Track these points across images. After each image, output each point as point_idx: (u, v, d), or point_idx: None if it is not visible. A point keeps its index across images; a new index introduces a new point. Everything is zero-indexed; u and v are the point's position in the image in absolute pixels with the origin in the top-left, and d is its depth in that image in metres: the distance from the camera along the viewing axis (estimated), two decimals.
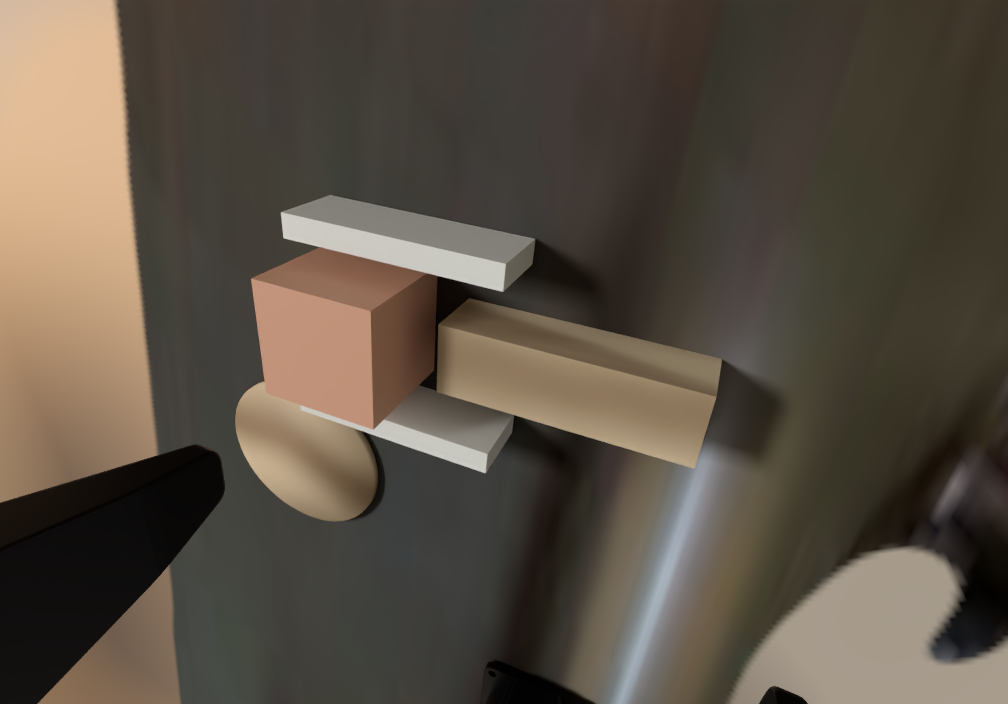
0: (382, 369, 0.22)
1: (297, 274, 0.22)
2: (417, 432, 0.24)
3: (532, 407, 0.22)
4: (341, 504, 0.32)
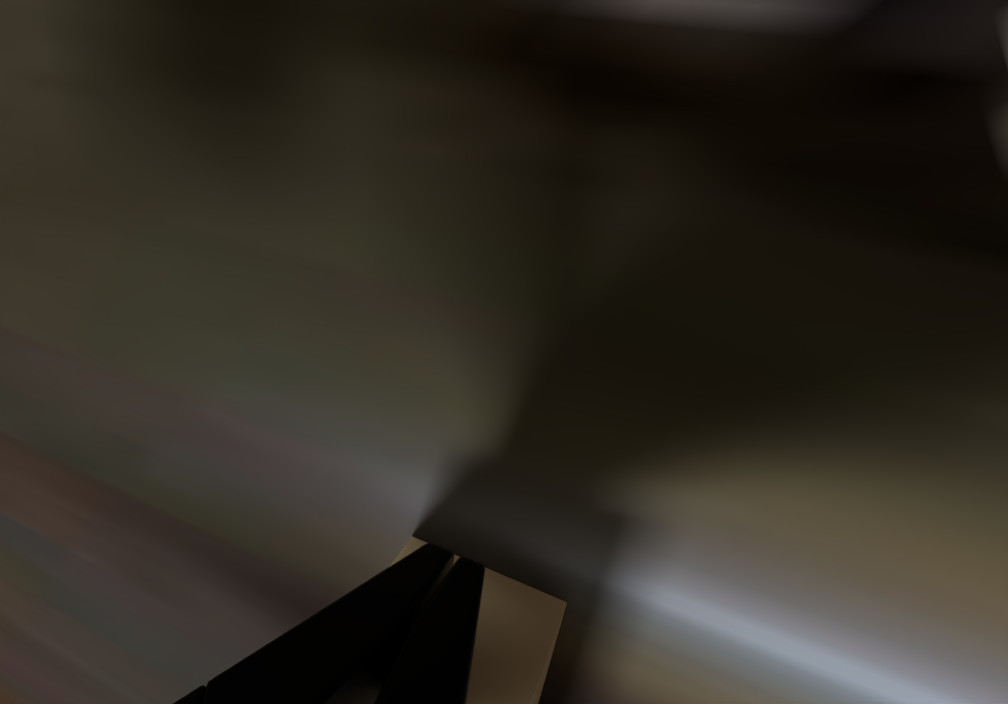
0: None
1: None
2: None
3: None
4: None
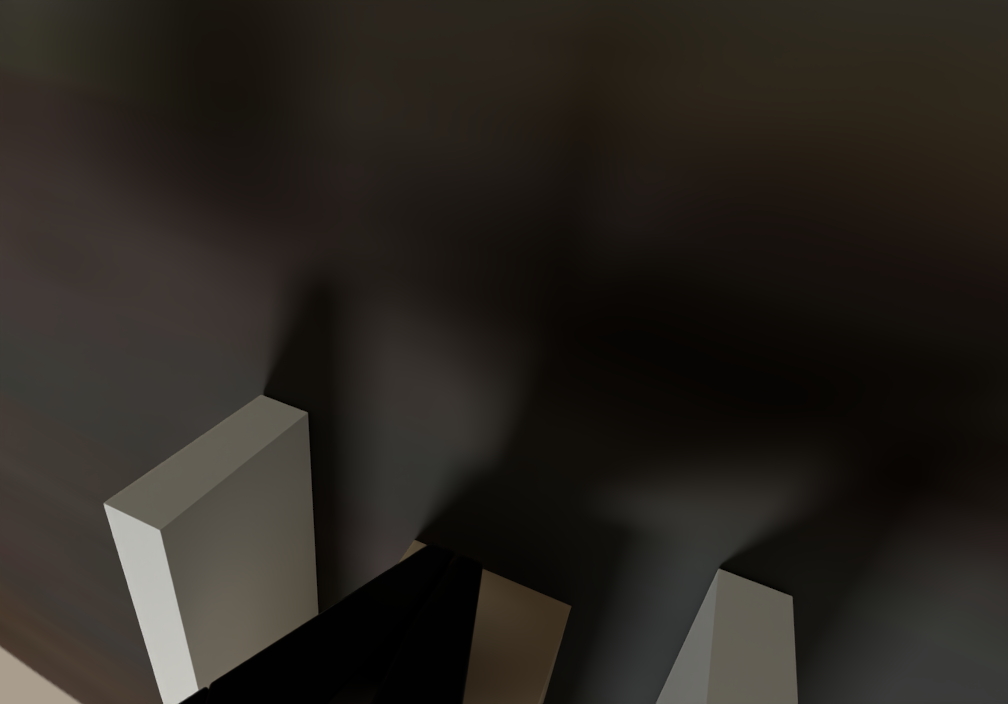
0: None
1: None
2: None
3: None
4: None
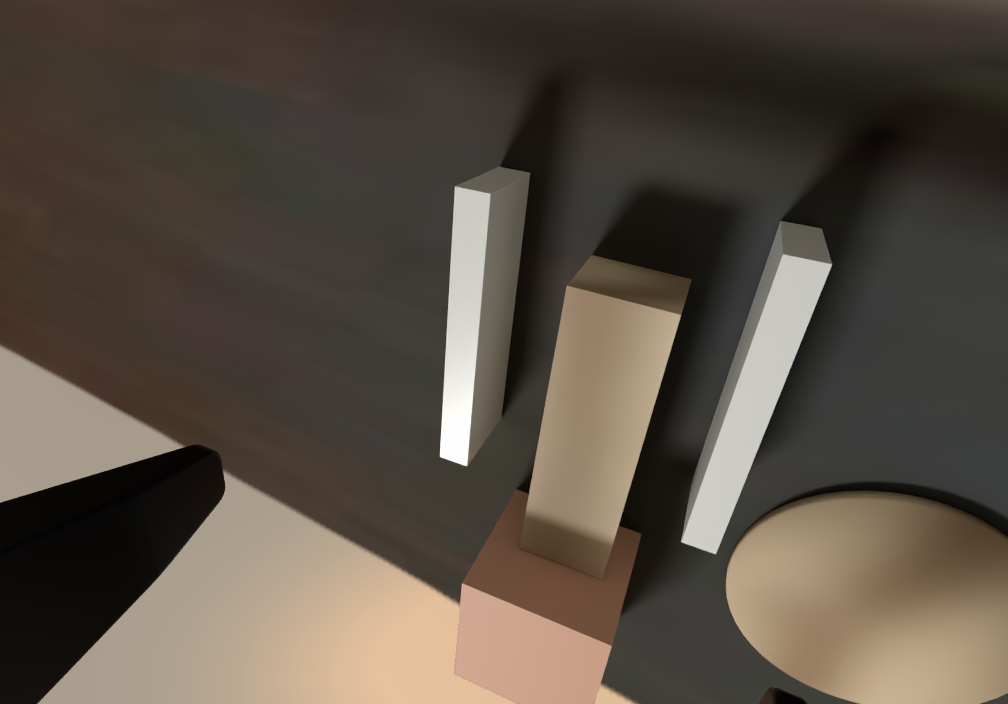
0: (545, 599, 0.19)
1: None
2: (745, 375, 0.14)
3: (609, 485, 0.18)
4: (1006, 594, 0.17)
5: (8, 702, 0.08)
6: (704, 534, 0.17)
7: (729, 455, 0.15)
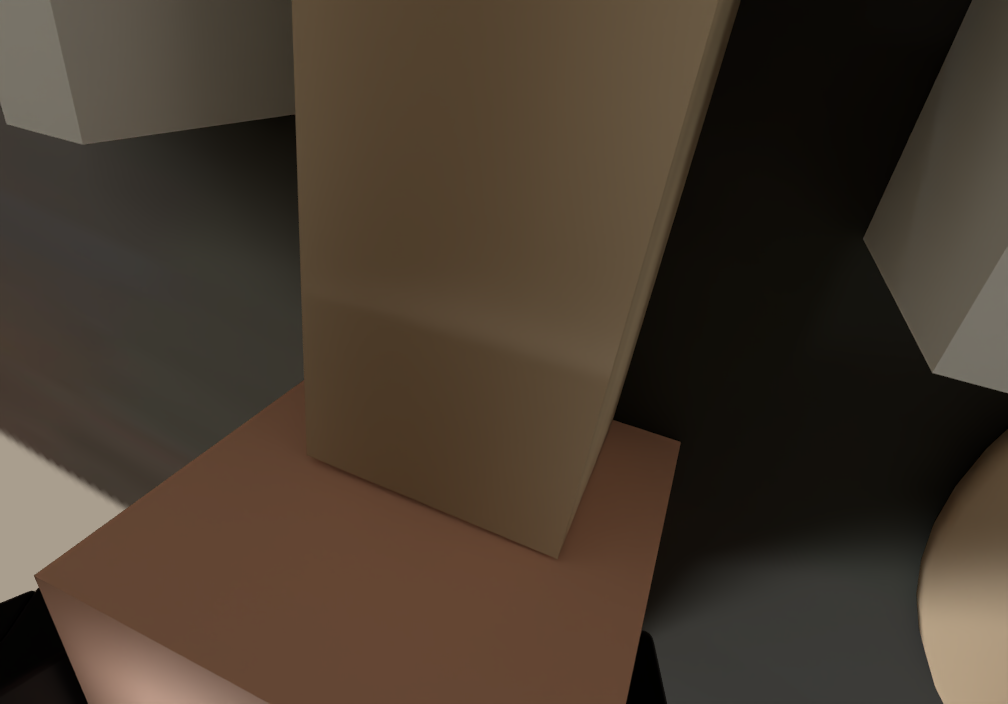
0: (339, 641, 0.05)
1: None
2: None
3: (589, 133, 0.04)
4: None
5: None
6: None
7: None
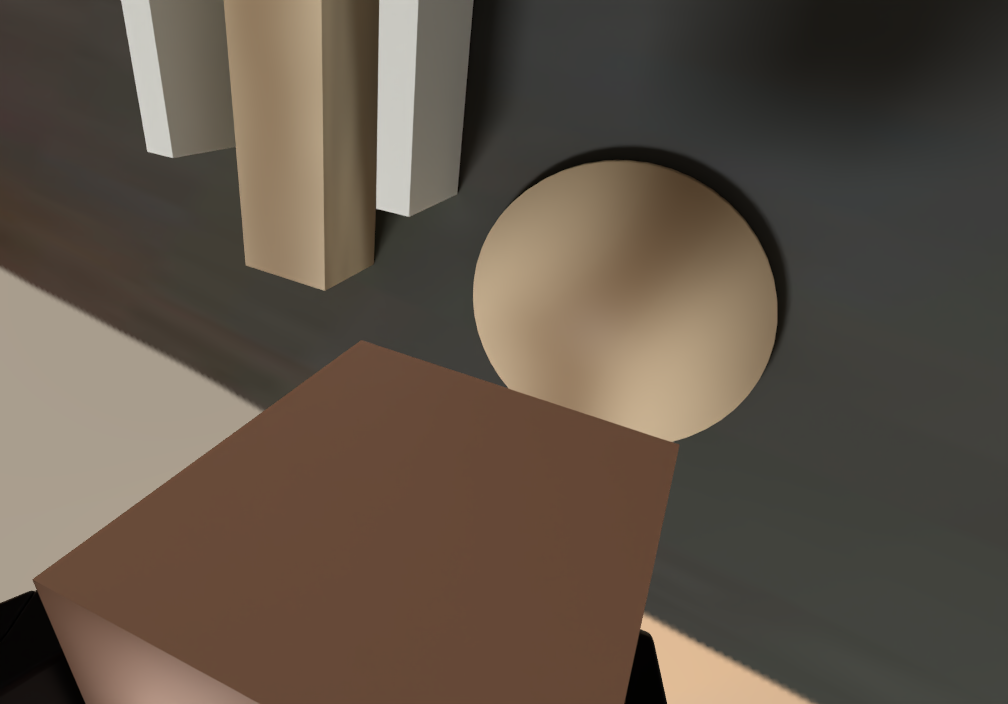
0: (338, 644, 0.05)
1: None
2: None
3: (305, 154, 0.16)
4: (723, 266, 0.16)
5: None
6: (393, 191, 0.15)
7: (393, 68, 0.14)
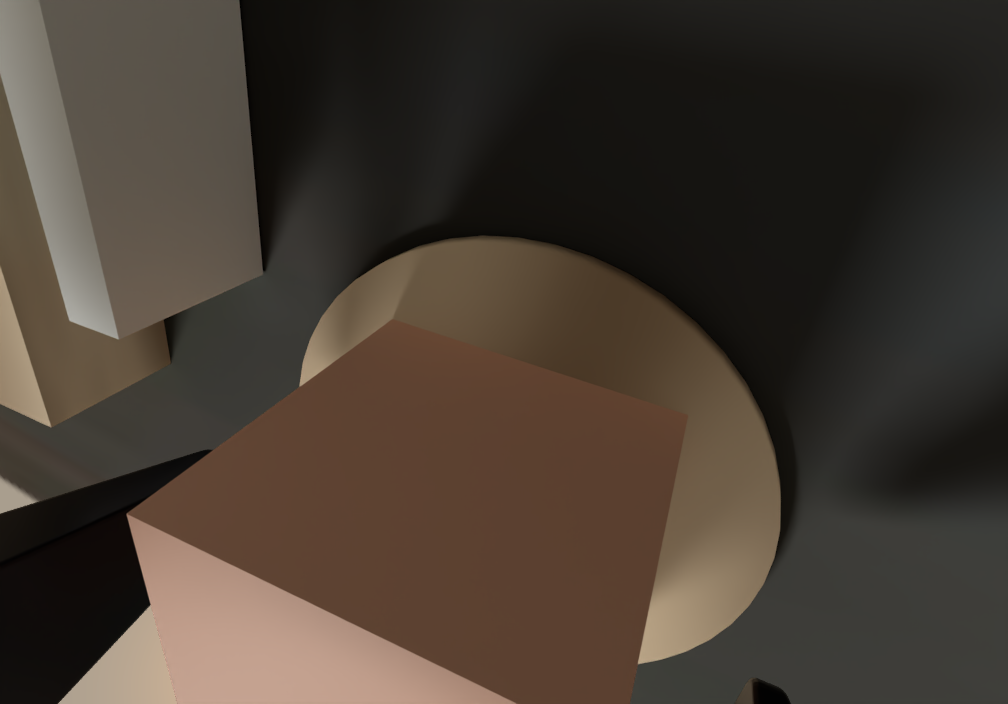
0: (395, 570, 0.06)
1: None
2: None
3: None
4: (685, 429, 0.09)
5: None
6: (85, 295, 0.08)
7: (22, 74, 0.07)
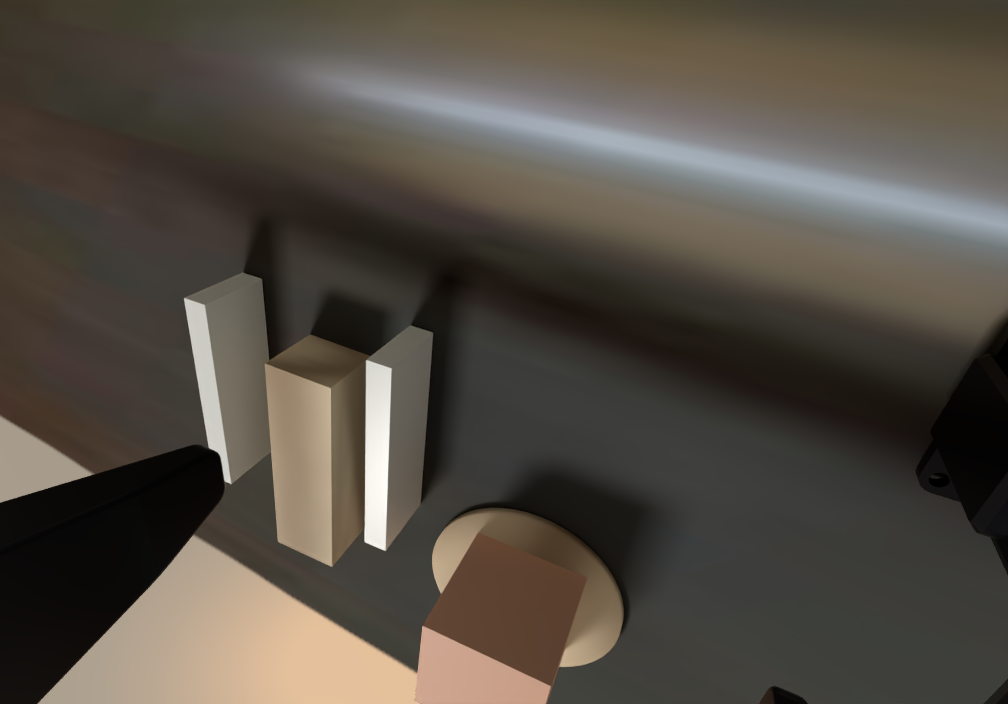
0: (495, 641, 0.21)
1: None
2: (369, 432, 0.22)
3: (319, 499, 0.25)
4: (587, 582, 0.24)
5: (8, 702, 0.08)
6: (375, 537, 0.24)
7: (374, 483, 0.23)
